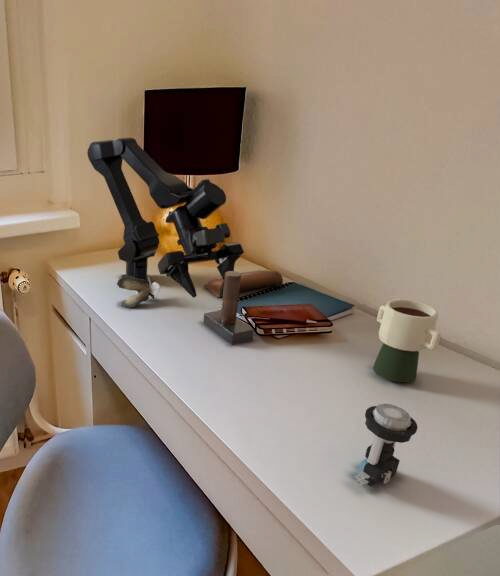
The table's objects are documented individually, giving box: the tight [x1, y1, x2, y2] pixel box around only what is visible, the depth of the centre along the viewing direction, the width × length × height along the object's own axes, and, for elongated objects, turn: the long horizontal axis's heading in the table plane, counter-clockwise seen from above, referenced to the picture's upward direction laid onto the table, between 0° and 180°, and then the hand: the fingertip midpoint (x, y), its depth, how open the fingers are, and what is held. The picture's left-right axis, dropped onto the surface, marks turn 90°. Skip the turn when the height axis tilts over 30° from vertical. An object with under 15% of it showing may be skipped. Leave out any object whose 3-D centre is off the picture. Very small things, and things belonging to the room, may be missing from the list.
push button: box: [353, 403, 418, 487], centre depth 57 cm, size 7×5×10 cm
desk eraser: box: [202, 270, 255, 346], centre depth 93 cm, size 10×5×13 cm, turn 19°
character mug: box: [372, 299, 442, 383], centre depth 77 cm, size 11×7×13 cm, turn 14°
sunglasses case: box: [204, 269, 284, 298], centre depth 115 cm, size 18×7×7 cm
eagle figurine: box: [116, 276, 161, 308], centre depth 109 cm, size 8×7×9 cm
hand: (213, 293), depth 98 cm, fingers open, 9 cm apart
